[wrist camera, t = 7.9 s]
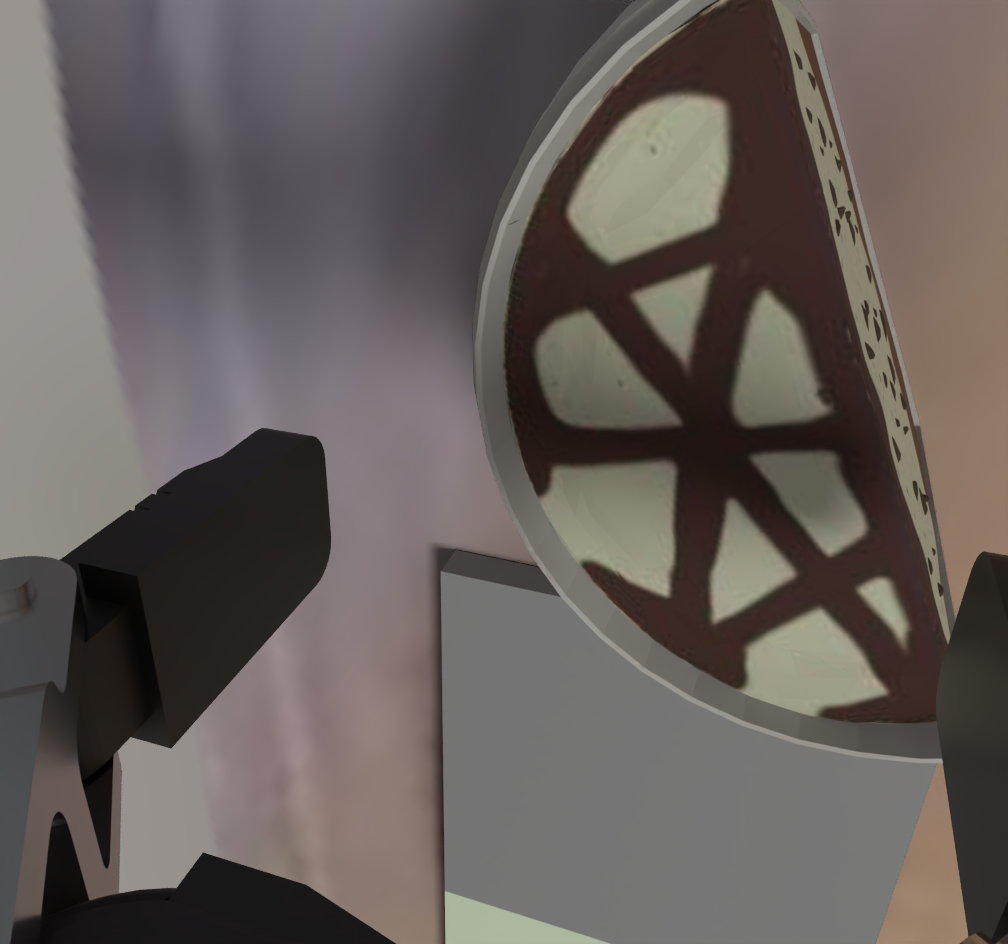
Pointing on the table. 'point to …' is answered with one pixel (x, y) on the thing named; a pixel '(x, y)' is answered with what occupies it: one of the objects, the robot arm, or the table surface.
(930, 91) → the table surface
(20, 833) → the robot arm
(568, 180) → the food container
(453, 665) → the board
